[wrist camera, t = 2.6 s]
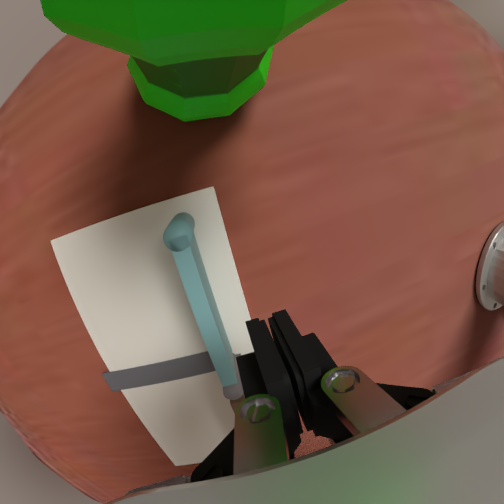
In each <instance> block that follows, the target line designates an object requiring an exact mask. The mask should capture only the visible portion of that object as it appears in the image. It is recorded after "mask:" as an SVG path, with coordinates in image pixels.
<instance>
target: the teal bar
mask: <svg viewBox="0 0 504 504" xmlns="http://www.w3.org/2000/svg"><path fill="white" fill-rule="evenodd" d="M194 227H195V221H194V218H193V217H192V216H191V215H190V214H189V213H186V212H181V213H178V214H176V215H175V216H174V218H173V219H172V220H171V222H170V223H169V225H168V226H167V228H166V229H165V231H164V234H163V241H164V243H165V245H166V246H167V248H169V249H170V250H172V253H173V256H174V259H175V262H176V265H177V268H178V271H179V274H180V277H181V280H182V283H183V286H184V289H185V291H186V294H187V297H188V300H189V303H190V305H191V308H192V311H193V314H194V316H195V319H196V322H197V324H198V327H199V329H200V332H201V335H202V337H203V340H204V342H205V345H206V347H207V350H208V352H209V355H210V357H211V360H212V362H213V365H214V367H215V370H216V372H217V374H218V377H219V379H220V382H221V384H222V386H223V395H224V396H225V398H227V399H230V400H236V399H239V398H240V397H242V395H243V388H242V383H241V379H240V374H239V370H238V365H237V361H236V357H237V356H236V355H235V354H234V353H232V348H231V345H230V343H229V340H228V337H227V334H226V331H225V328H224V325H223V322H222V319H221V316H220V313H219V310H218V307H217V304H216V301H215V298H214V295H213V292H212V289H211V286H210V283H209V280H208V277H207V274H206V270H205V267H204V264H203V261H202V258H201V254H200V251H199V248H198V244H197V241H196V238H195V235H194Z"/></svg>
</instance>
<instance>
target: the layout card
mask: <svg viewBox="0 0 504 504" xmlns="http://www.w3.org/2000/svg"><path fill="white" fill-rule="evenodd" d="M181 212H186V213H189V214H190V215H191V216H192V217H193V218H194V221H195V227H194V235H195V238H196V241H197V244H198V248H199V251H200V254H201V258H202V261H203V264H204V267H205V270H206V274H207V277H208V280H209V283H210V286H211V289H212V292H213V295H214V298H215V301H216V304H217V307H218V310H219V313H220V316H221V319H222V322H223V325H224V328H225V331H226V334H227V337H228V340H229V343H230V345H231V348H232V353H234V354H235V355H236V356H237V357H238V356H241V355H245V354H248V353H251V352H254V349H253V346H252V343H251V339H250V336H249V333H248V330H247V326H246V323H245V321H249V320H251V318H250V315H249V312H248V308H247V305H246V301H245V298H244V294H243V291H242V287H241V284H240V280H239V277H238V273H237V270H236V266H235V262H234V259H233V255H232V252H231V248H230V245H229V241H228V237H227V234H226V230H225V226H224V223H223V219H222V216H221V212H220V208H219V204H218V201H217V197H216V193H215V190H214V186H212V187H209V188H205V189H202V190H198V191H195V192H191V193H188V194H184V195H181V196H178V197H174V198H171V199H168V200H165V201H161V202H158V203H155V204H152V205H149V206H146V207H142V208H139V209H136V210H133V211H130V212H127V213H124V214H121V215H119V216H116V217H113V218H110V219H107V220H104V221H101V222H99V223H96V224H93V225H90V226H88V227H85V228H82V229H79V230H77V231H74V232H72V233H69V234H66V235H64V236H61V237H59V238H56V239H54V240H51V244H52V247H53V250H54V253H55V255H56V258H57V261H58V264H59V266H60V269H61V271H62V274H63V276H64V279H65V281H66V284H67V286H68V289H69V291H70V293H71V296H72V298H73V300H74V303H75V305H76V307H77V309H78V311H79V314H80V316H81V318H82V320H83V322H84V324H85V326H86V328H87V330H88V332H89V334H90V336H91V338H92V340H93V342H94V344H95V346H96V348H97V350H98V351H99V353H100V355H101V357H102V359H103V361H104V362H105V364H106V366H107V368H108V369H109V371H110V372H107V373H102V375H103V377H104V379H105V380H106V382H107V383H108V385H109V387H110V388H111V390H112V391H118V390H121V391H122V393H123V394H124V396H125V397H126V399H127V400H128V402H129V404H130V405H131V407H132V408H133V410H134V411H135V413H136V414H137V416H138V417H139V418H140V420H141V421H142V423H143V424H144V426H145V427H146V428H147V430H148V431H149V432H150V434H151V435H152V437H153V438H154V439H155V441H156V442H157V443H158V445H159V446H160V447H161V448H162V450H163V451H164V452H165V454H166V455H167V456H168V457H169V459H170V460H171V461H172V462H173V463H174V465H175V466H181V465H188V464H195V463H201V462H202V461H203V460H204V459H205V458H206V457H207V456H208V455H209V454H210V453H211V452H212V451H213V450H214V449H215V448H216V447H217V446H218V445H219V444H220V443H221V441H222V440H223V439H224V438H225V437H226V436H227V435H228V434H229V433H230V432H231V431H232V429H233V428H234V427H235V414H234V411H233V409H232V407H231V405H230V399H227V398H225V396H224V395H223V386H222V384H221V382H220V379H219V377H218V374H217V372H216V370H215V367H214V365H213V362H212V360H211V357H210V355H209V352H208V350H207V347H206V345H205V342H204V340H203V337H202V335H201V332H200V329H199V327H198V324H197V322H196V319H195V316H194V314H193V311H192V308H191V305H190V303H189V300H188V297H187V294H186V291H185V289H184V286H183V283H182V280H181V277H180V274H179V271H178V268H177V265H176V262H175V259H174V256H173V253H172V250H170V249H169V248H167V246H166V245H165V243H164V241H163V234H164V231H165V229H166V228H167V226H168V225H169V223H170V222H171V220H172V219H173V218H174V216H175V215H176V214H178V213H181Z"/></svg>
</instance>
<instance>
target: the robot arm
mask: <svg viewBox="0 0 504 504" xmlns="http://www.w3.org/2000/svg"><path fill="white" fill-rule="evenodd" d="M476 294H477V298H478V301H479V303H480V304H481V305H482V306H483V307H484V308H486V309H488V310H496V309H498V308H500V307H501V306H504V222H502V223H501V224H499V225H498V226H497V227H496V228H495V229H494V231H493V232H492V233H491V235H490V237H489V238H488V240H487V242H486V244H485V247H484V249H483V251H482V254H481V257H480V261H479V265H478V269H477V276H476ZM268 321H269V325H270V329H271V332H272V336H273V338H272V336H271V334H270V332H269V329H268V327H267V325H266V323H265V320H261V321H259V319H258V318H255V319H252V320H249V321H245V323H246V326H247V330H248V333H249V336H250V339H251V343H252V346H253V349H254V352H251V353H248V354H245V355H241V356H238V357H236V361H237V365H238V370H239V374H240V379H241V383H242V388H243V392H244V396H245V399H244V400H243V401H242V402H241V403H240V404H239V405H238V406H237V408H236V411H235V427H234V428H233V429H232V431H231V432H230V433H229V434H228V435H227V436H226V437H225V438H224V439H223V440H222V441H221V443H220V444H219V445H218V446H217V447H216V448H215V449H214V450H213V451H212V452H211V453H210V454H209V455H208V456H207V457H206V458H205V459H204V460H203V461H202V462H201V463H200V464H199V465H198V466H197V467H196V469H195V470H194V471H193V473H192V475H189V476H187V477H185V476H184V475H180V476H177V477H174V478H171V479H168V480H164V481H161V482H158V483H154V484H151V485H147V486H143V487H140V488H136V489H133V490H131V491H129V492H128V493H126V494H125V495H124V496H122V497H119V498H116V499H114V500H111V501H109V502H107V503H105V504H504V357H502V358H498V359H496V360H494V361H491V362H489V363H487V364H485V365H483V366H481V367H480V368H478V369H476V370H473V371H471V372H468V373H466V374H464V375H461V376H459V377H456V378H454V379H451V380H449V381H446V382H443V383H441V384H438V385H435V386H433V389H432V390H428V389H423V388H415V387H405V386H396V385H387V384H379V383H375V382H374V381H372V380H371V379H370V378H369V377H368V376H367V375H366V374H364V373H363V372H362V371H361V370H359V369H358V368H356V367H352V366H341V367H337V365H336V364H335V362H334V361H333V359H332V358H331V356H330V355H329V354H328V352H327V351H326V349H325V348H324V346H323V345H322V343H321V342H320V341H319V339H318V338H317V336H316V335H315V334H314V333H311V334H308V335H305V336H301V334H300V333H299V331H298V329H297V328H296V326H295V325H294V323H293V321H292V320H291V318H290V316H289V315H288V313H287V311H286V310H285V309H284V310H281V311H278V312H275V313H272V317H271V318H268ZM273 340H274V341H273ZM298 411H299V413H300V416H301V418H302V420H303V423H304V425H305V427H306V429H307V431H310V430H313V432H314V434H315V436H316V437H317V436H323V437H327V438H329V442H330V444H331V446H329V447H326V448H324V449H321V450H318V451H315V452H312V453H310V454H307V455H304V456H301V457H298V458H296V456H295V453H294V452H295V450H296V449H297V447H298V446H299V444H300V443H301V438H300V434H301V433H303V430H302V425H301V421H300V417H299V413H298Z"/></svg>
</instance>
